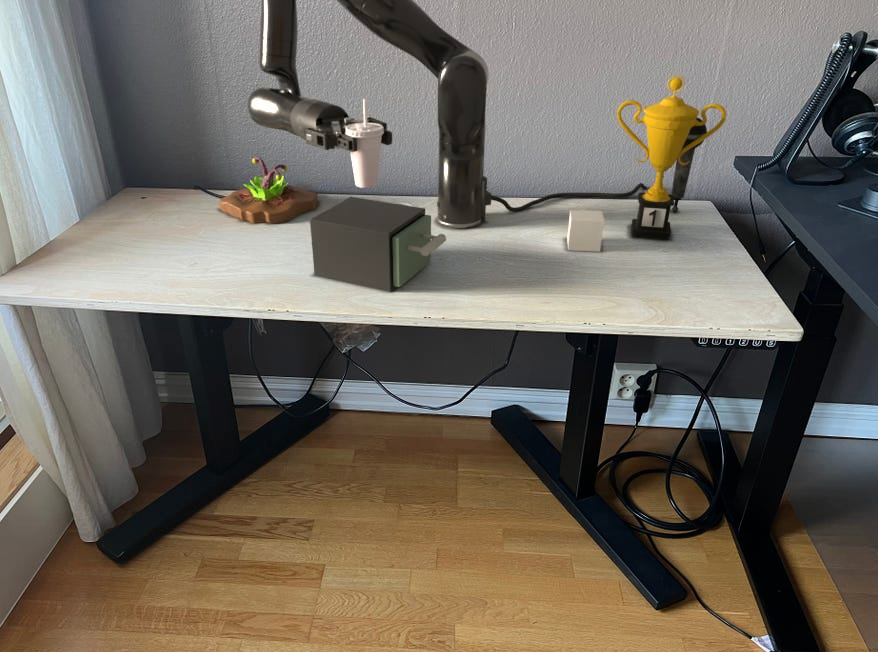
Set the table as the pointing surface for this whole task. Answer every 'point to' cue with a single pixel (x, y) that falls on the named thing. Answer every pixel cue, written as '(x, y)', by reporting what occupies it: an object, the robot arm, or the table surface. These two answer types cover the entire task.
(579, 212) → the off-white cube
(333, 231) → the cabinet
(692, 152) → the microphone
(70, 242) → the table surface
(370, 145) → the smoothie
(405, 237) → the drawer
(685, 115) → the trophy
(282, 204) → the plant
